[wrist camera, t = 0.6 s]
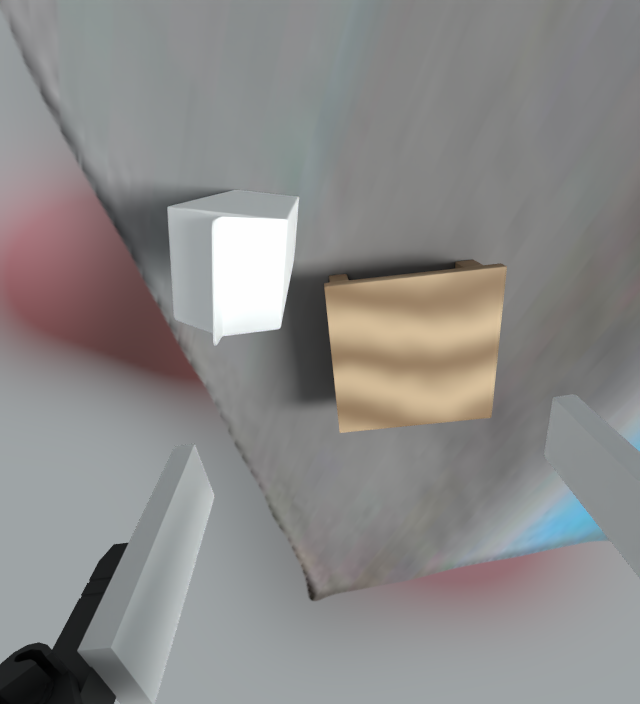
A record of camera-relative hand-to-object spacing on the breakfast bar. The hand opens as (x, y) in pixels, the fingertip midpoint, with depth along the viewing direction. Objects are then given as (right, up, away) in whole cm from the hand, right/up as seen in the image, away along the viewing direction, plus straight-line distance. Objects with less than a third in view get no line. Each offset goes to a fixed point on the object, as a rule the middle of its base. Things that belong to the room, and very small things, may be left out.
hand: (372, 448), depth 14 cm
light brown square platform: (+7, +6, +28) cm, 29 cm away
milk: (-7, +16, +23) cm, 29 cm away
